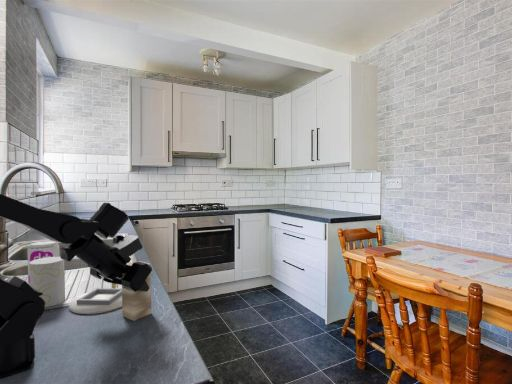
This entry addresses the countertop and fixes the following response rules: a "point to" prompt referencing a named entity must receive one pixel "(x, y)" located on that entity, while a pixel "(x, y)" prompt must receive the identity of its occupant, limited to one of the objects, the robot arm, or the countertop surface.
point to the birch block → (136, 301)
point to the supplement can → (42, 251)
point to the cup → (48, 279)
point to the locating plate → (97, 301)
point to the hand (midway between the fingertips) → (141, 287)
